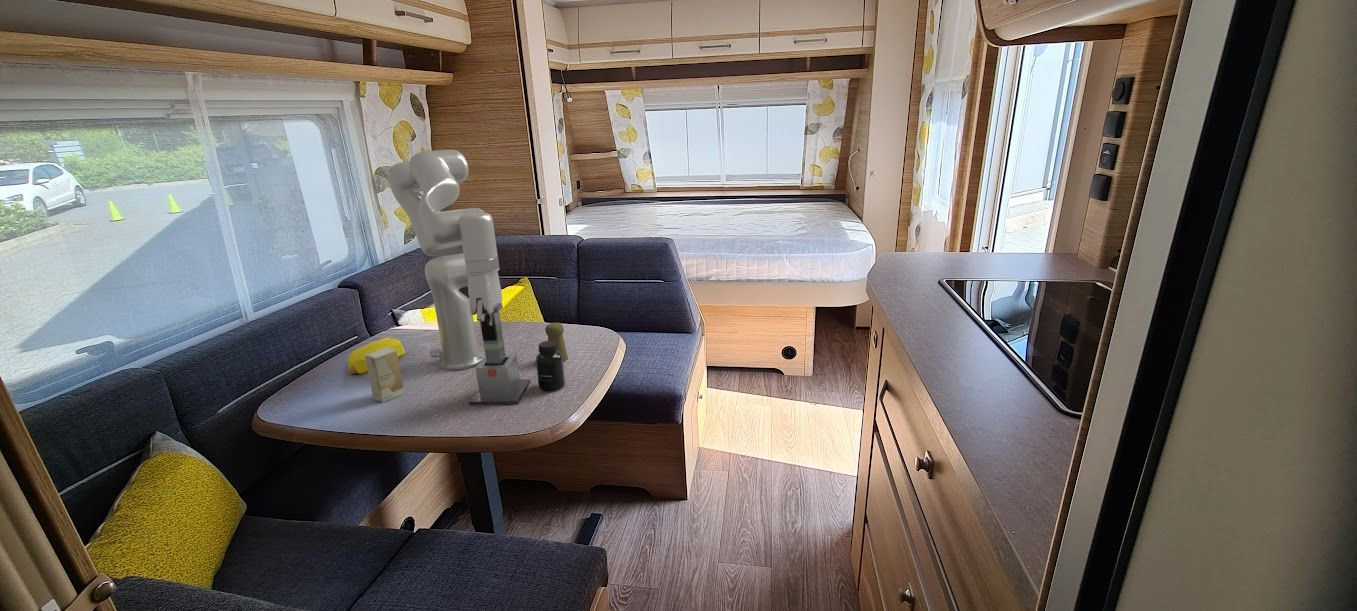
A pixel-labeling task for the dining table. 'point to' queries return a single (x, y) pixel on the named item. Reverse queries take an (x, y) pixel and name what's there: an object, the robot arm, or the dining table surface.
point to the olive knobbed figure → (557, 337)
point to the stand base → (499, 383)
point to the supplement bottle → (550, 367)
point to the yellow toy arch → (358, 356)
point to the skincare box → (384, 374)
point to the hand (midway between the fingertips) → (492, 336)
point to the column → (495, 348)
